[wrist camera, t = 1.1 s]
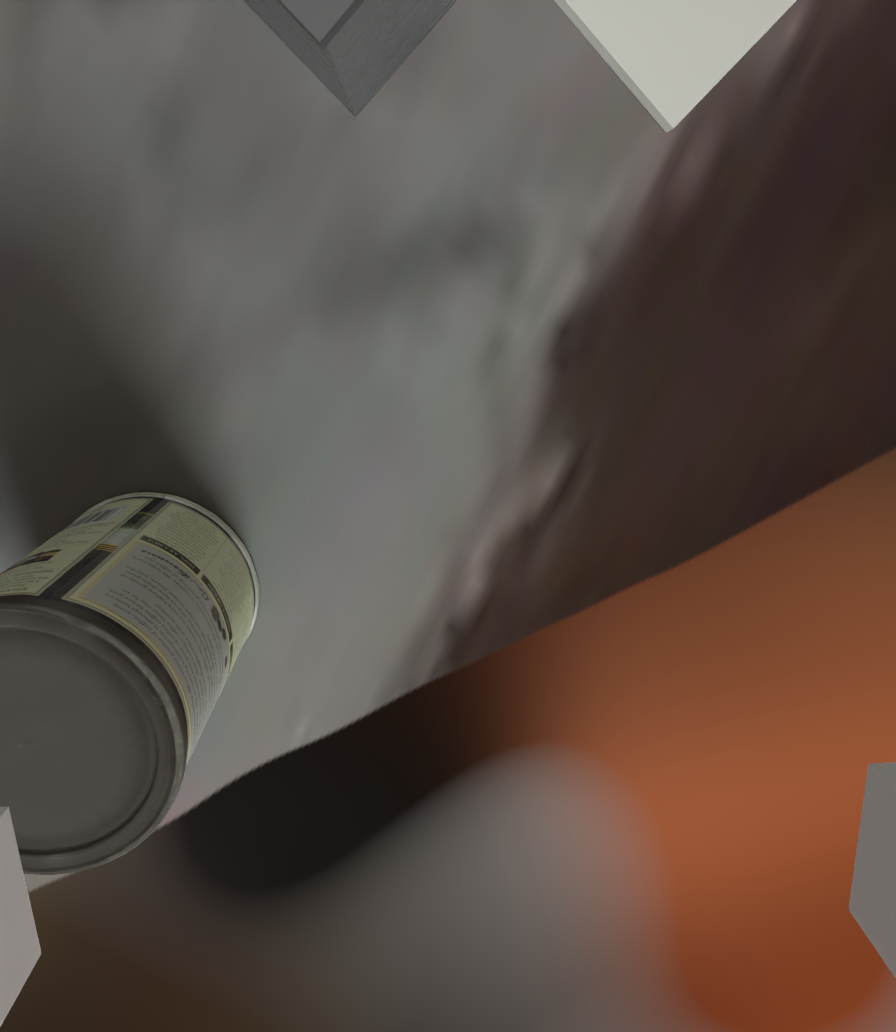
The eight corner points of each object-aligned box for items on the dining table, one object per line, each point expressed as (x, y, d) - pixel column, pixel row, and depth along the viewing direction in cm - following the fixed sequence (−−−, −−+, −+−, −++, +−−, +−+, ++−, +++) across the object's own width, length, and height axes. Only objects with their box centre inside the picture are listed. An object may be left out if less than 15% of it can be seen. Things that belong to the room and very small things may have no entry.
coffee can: (178, 718, 42) (62, 927, 28) (11, 596, 40) (-200, 759, 26) (304, 582, 40) (245, 737, 26) (137, 446, 38) (-22, 539, 24)
